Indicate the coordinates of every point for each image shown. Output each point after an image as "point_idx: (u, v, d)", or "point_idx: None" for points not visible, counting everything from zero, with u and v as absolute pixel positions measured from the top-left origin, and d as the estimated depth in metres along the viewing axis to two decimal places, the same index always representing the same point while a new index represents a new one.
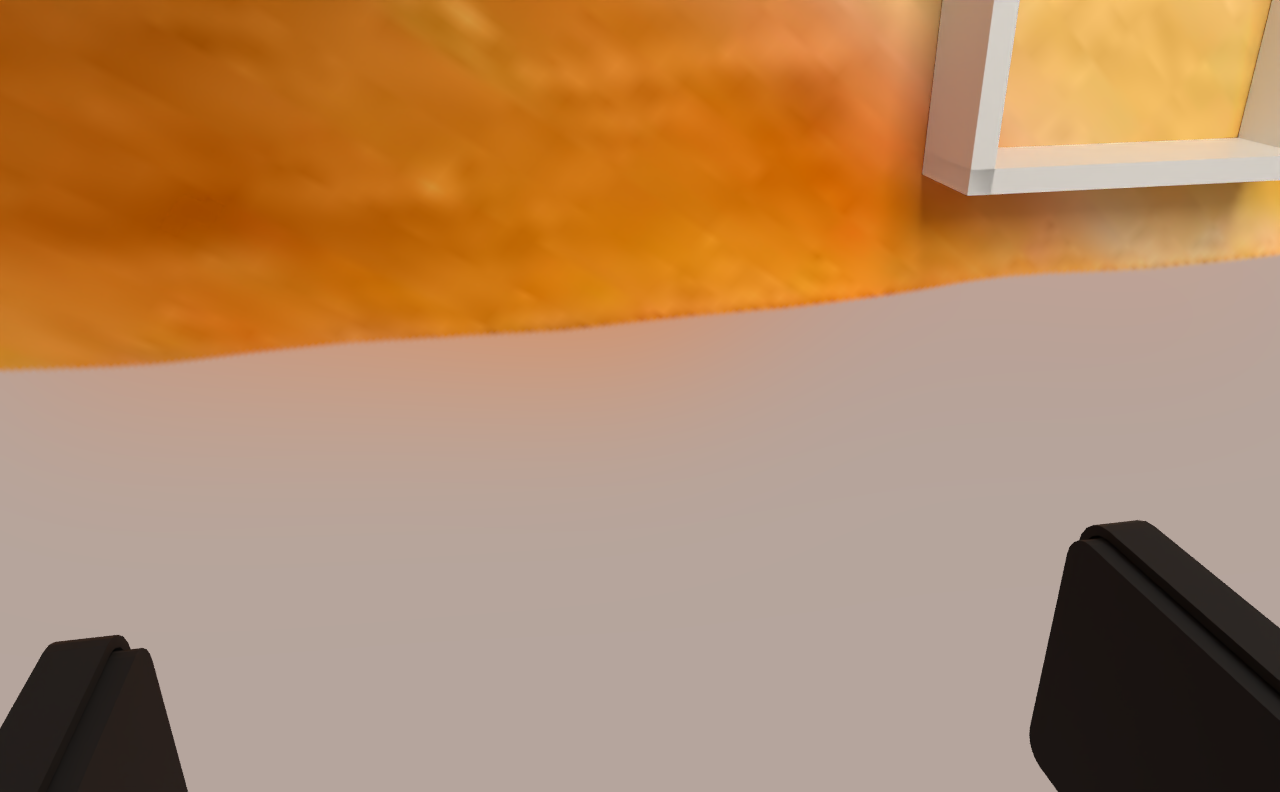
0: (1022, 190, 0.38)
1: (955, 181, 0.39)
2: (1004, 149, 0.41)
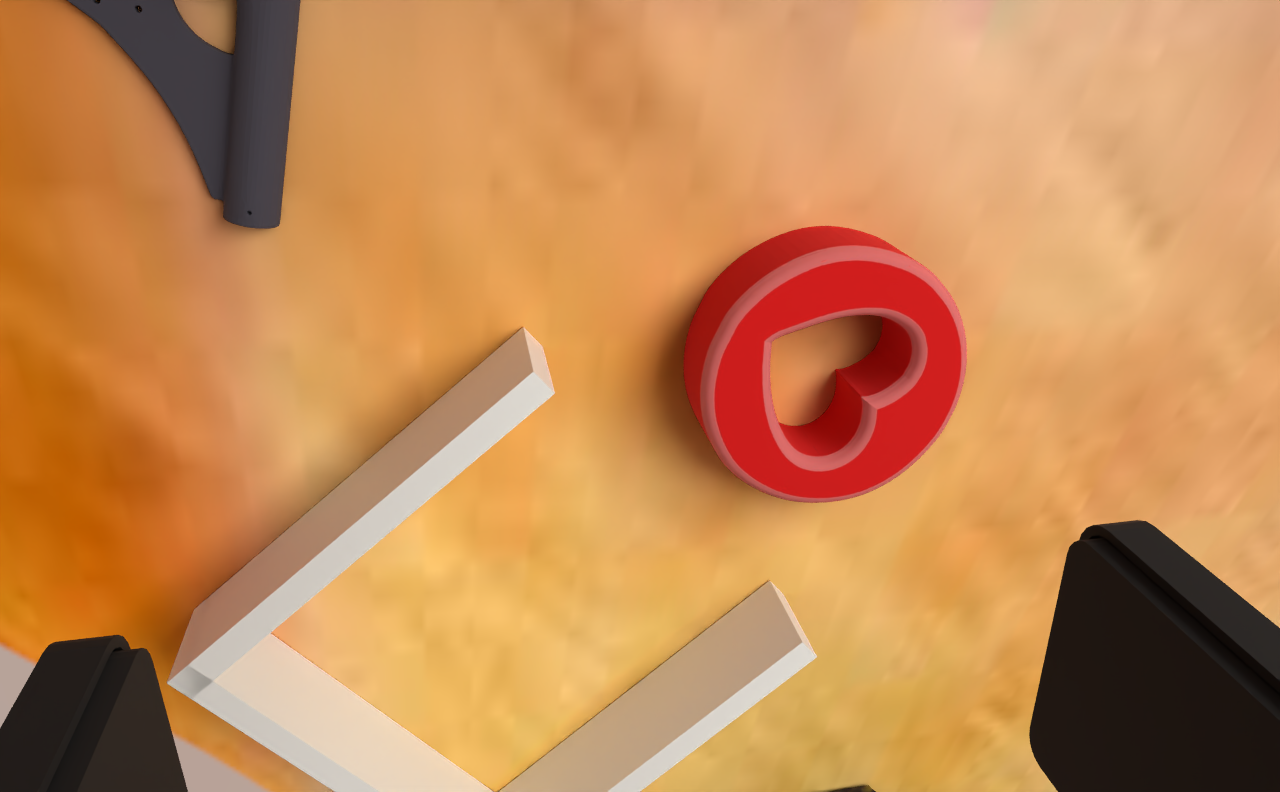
0: (225, 718, 0.33)
1: (181, 656, 0.33)
2: (284, 652, 0.36)
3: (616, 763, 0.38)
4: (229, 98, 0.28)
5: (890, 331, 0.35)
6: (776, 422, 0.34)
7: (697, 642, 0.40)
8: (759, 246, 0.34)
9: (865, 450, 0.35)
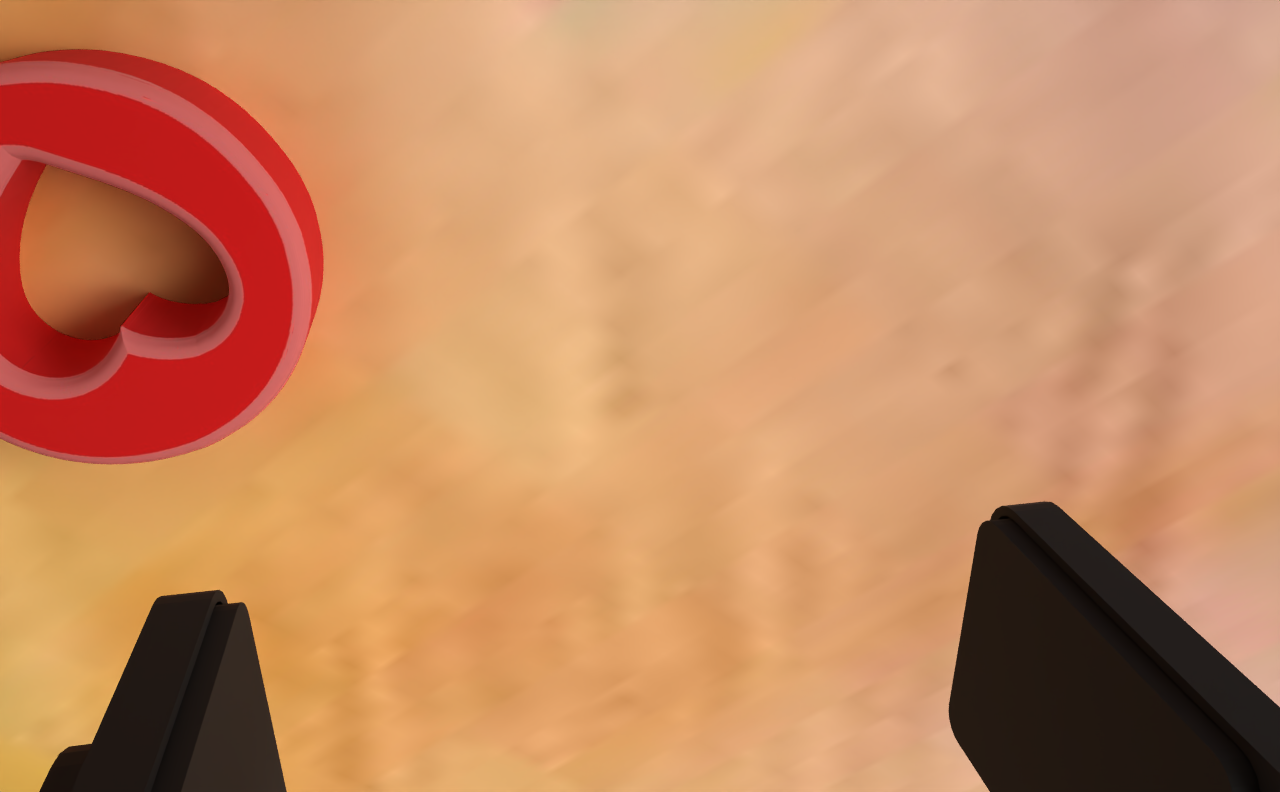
0: None
1: None
2: None
3: None
4: None
5: None
6: None
7: None
8: (119, 53, 0.23)
9: (84, 399, 0.23)
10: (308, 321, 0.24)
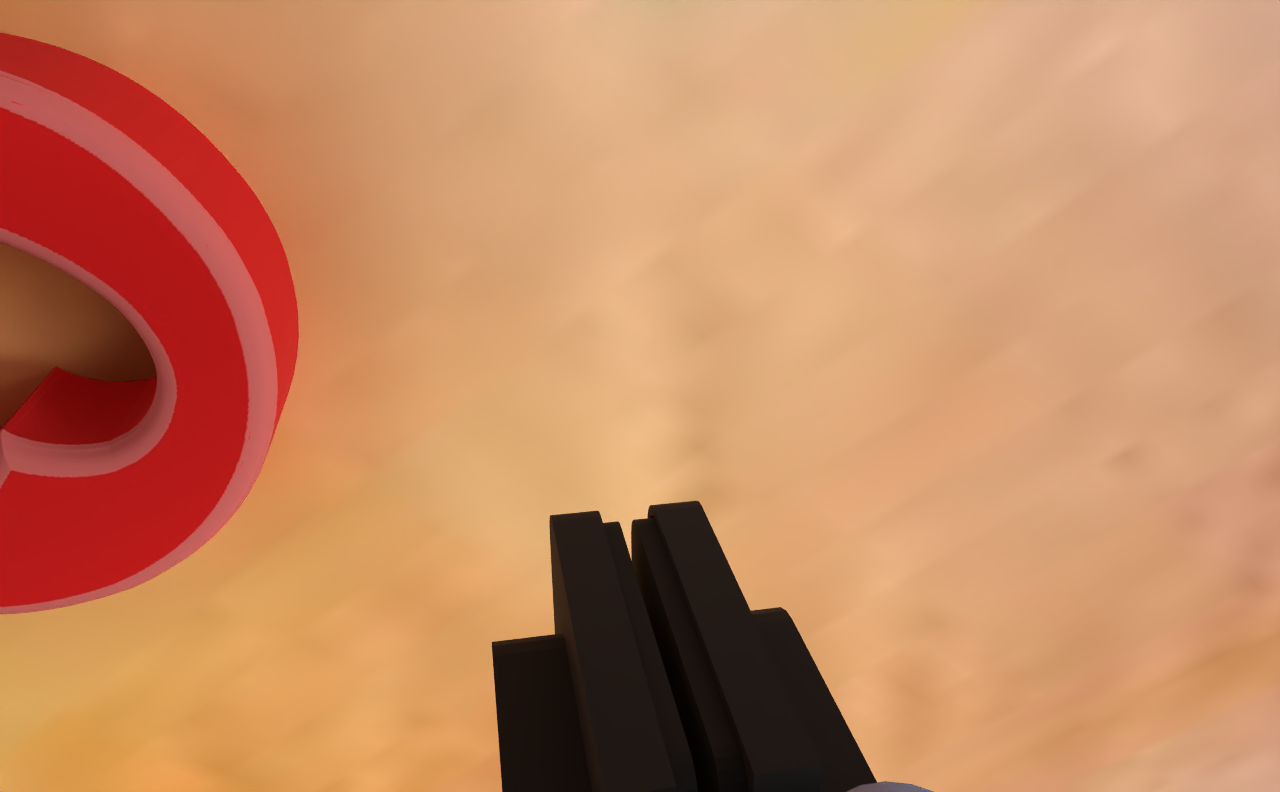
0: None
1: None
2: None
3: None
4: None
5: None
6: None
7: None
8: None
9: None
10: (273, 420, 0.17)
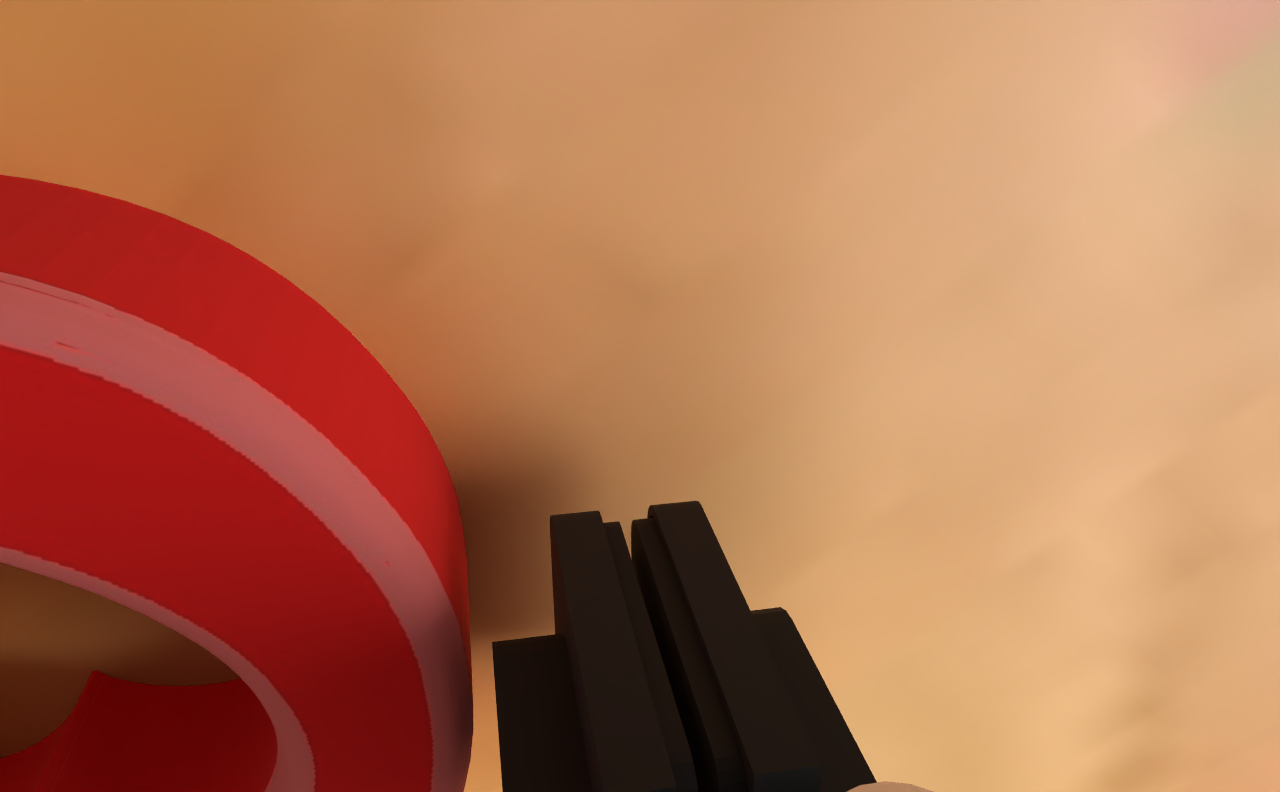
0: None
1: None
2: None
3: None
4: None
5: None
6: None
7: None
8: (16, 182, 0.09)
9: None
10: None
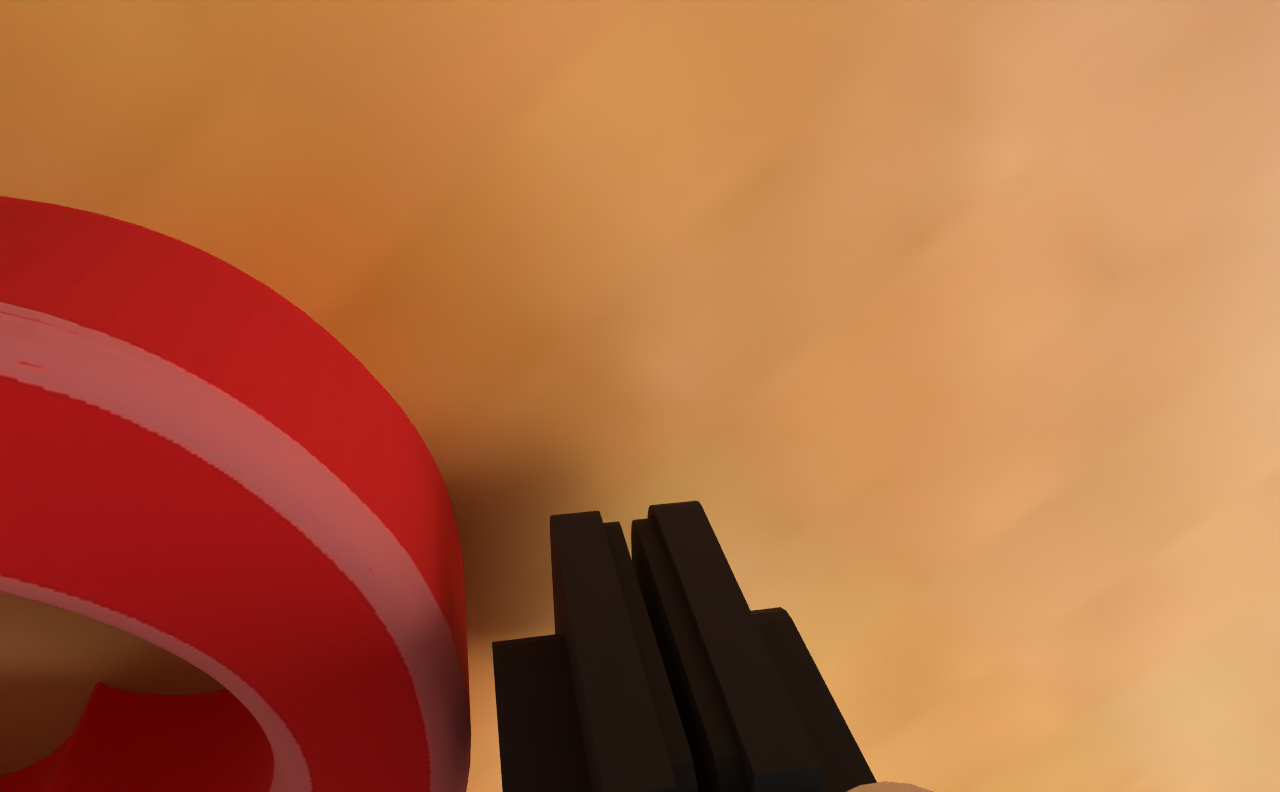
0: None
1: None
2: None
3: None
4: None
5: None
6: None
7: None
8: None
9: None
10: None
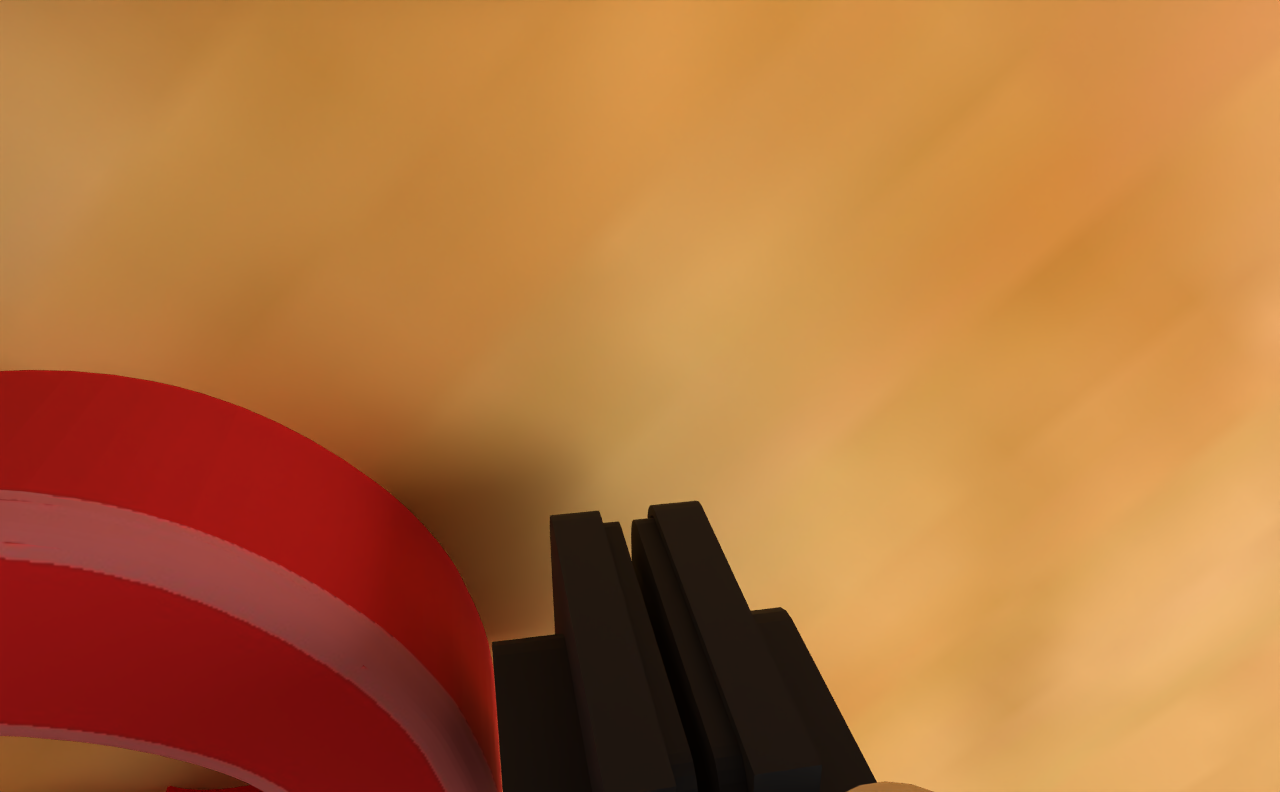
0: None
1: None
2: None
3: None
4: None
5: None
6: None
7: None
8: None
9: None
10: None
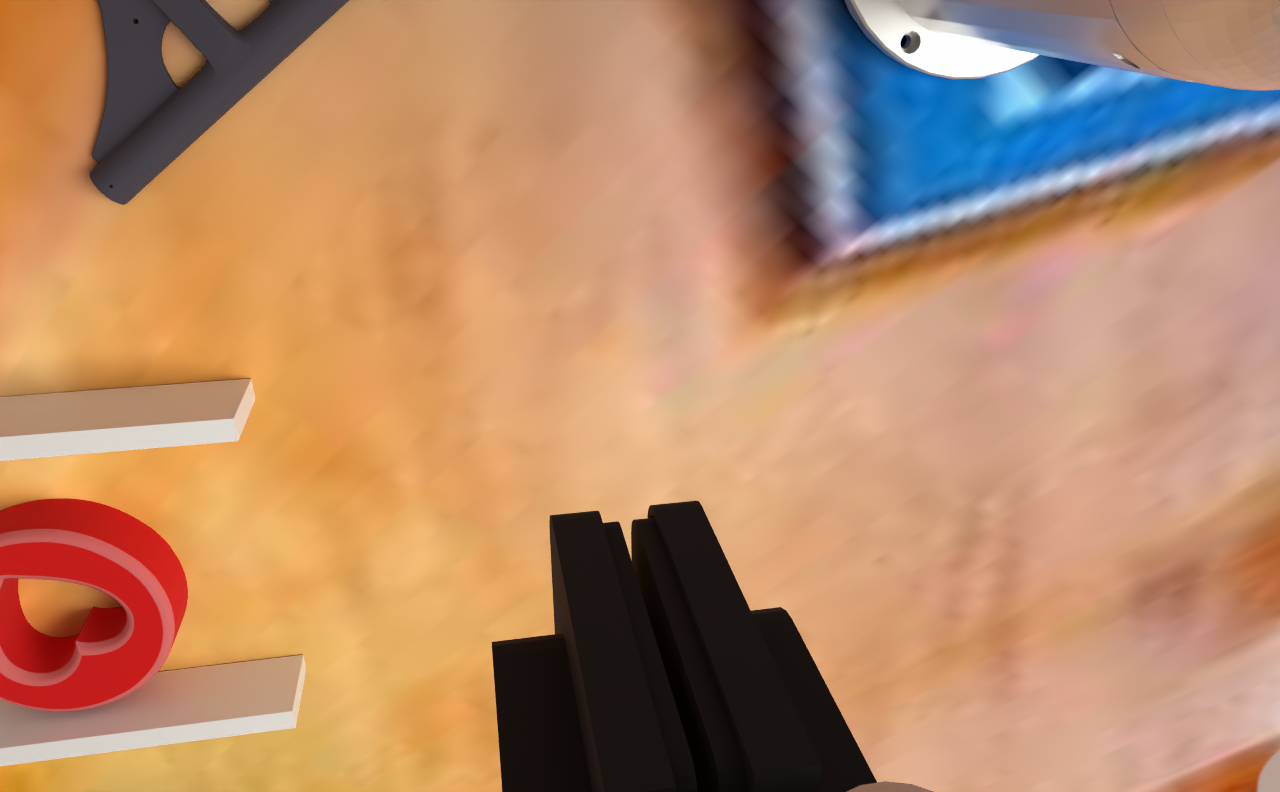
0: None
1: None
2: None
3: (91, 722, 0.44)
4: (154, 110, 0.37)
5: None
6: None
7: (218, 668, 0.47)
8: (43, 501, 0.43)
9: (66, 681, 0.43)
10: (172, 617, 0.43)
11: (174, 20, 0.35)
